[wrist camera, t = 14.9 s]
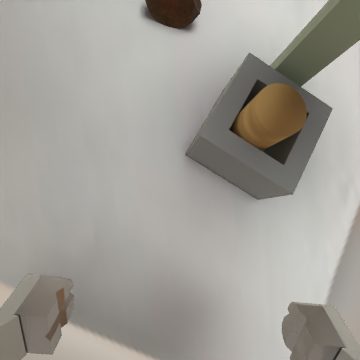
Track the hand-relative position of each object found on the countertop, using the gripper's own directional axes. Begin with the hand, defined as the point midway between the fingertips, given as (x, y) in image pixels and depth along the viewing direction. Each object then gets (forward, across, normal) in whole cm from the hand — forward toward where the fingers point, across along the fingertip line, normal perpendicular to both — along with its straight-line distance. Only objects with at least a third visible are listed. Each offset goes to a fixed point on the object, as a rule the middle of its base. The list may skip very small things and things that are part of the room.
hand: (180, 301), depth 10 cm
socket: (+20, -6, -1) cm, 21 cm away
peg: (+20, -5, -1) cm, 20 cm away
